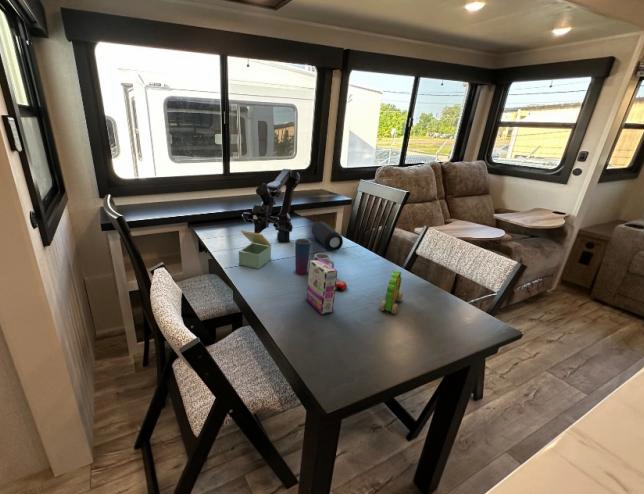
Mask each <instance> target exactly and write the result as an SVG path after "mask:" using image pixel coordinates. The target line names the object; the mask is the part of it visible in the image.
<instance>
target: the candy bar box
mask: <svg viewBox="0 0 644 494" xmlns="http://www.w3.org/2000/svg"><path fill="white" fill-rule="evenodd" d="M337 277H338V270H337V269H335V267H334V268H333V267H332V265H330V264H329V265H328V264H327V263H325V262H324V261H323V260H321V259H317V260H314V259H312V260H309V263H308V277H307V278H308V279H307V289H306V290H307V292H306V301H307V302H309V304H311V306H312V307H313V308H314V309H316V311H318V312H319V313H320V315H325V314H329V313H333V311H334V302H335V295H336V289H335V287H336V278H337ZM337 279H338V278H337Z"/></svg>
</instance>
